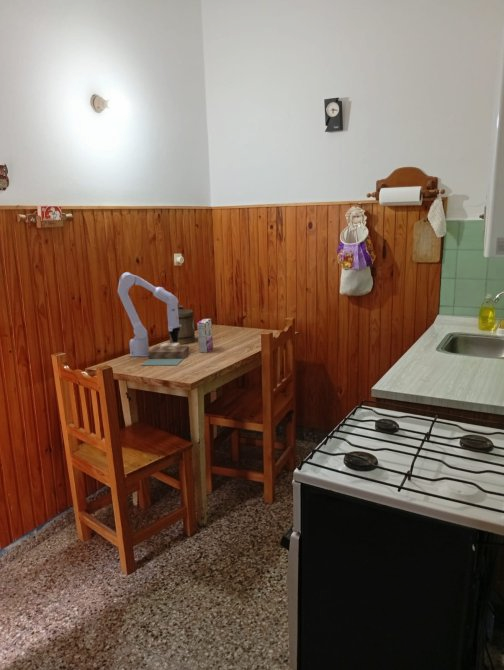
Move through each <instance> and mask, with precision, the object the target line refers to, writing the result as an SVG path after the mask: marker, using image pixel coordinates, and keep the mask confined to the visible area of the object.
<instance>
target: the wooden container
mask: <svg viewBox="0 0 504 670" xmlns="http://www.w3.org/2000/svg"><path fill="white" fill-rule="evenodd" d="M177 308H178V318H179V325H181V326H180V327H177V328H180V330H179V333H178V340H177V342H173V341H172V338H171V335H170V333H169V334H168V335H169V343H180V345H188V344H192V343H194V342H195V341H196V335H195V334H196V332H195V330H196V329H195V321H194V310H192V309H187V308H186V309H184V305H182V304H177Z"/></svg>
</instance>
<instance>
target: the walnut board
mask: <svg viewBox="0 0 504 670" xmlns="http://www.w3.org/2000/svg"><path fill="white" fill-rule="evenodd" d="M189 347H190V346H189V345H180V347H179V348H178V349H163V350H160V345H159V346H154V347H153V348H152V349H149V352H148V354H149V355H148V359H183V360H184V359H185V358H186V357H188V355H189V354H190V349H189Z"/></svg>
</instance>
